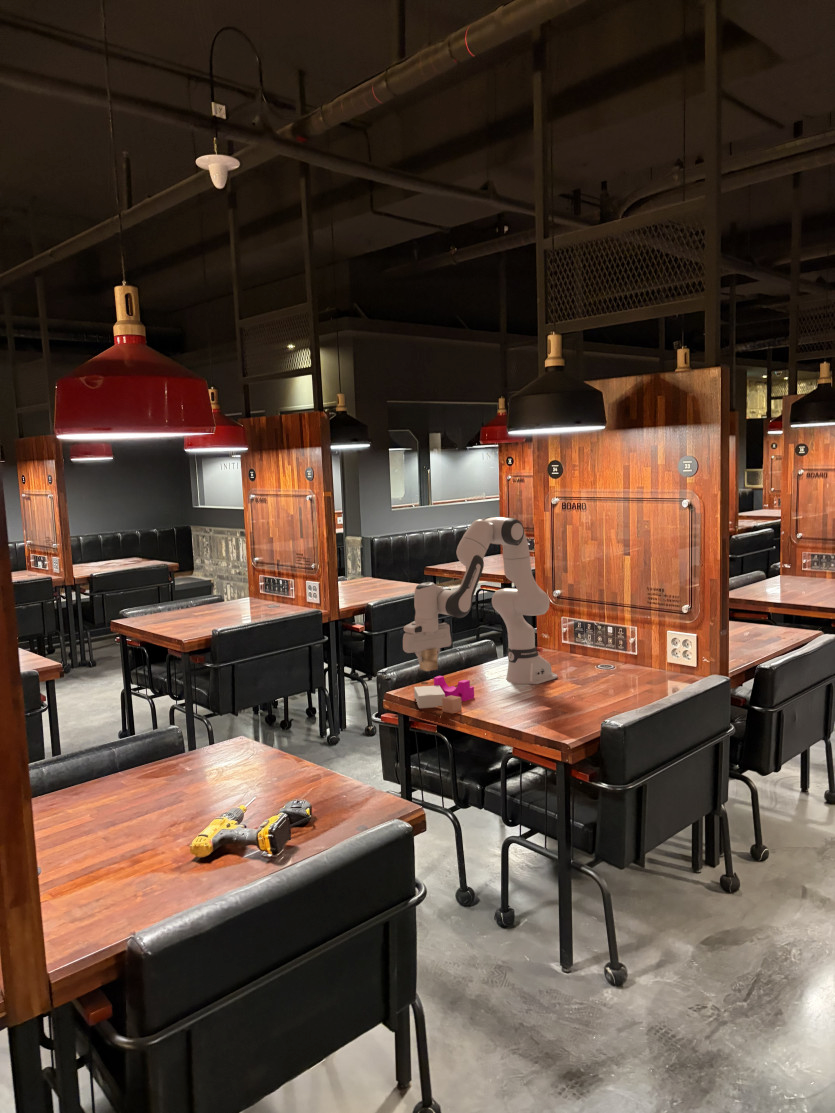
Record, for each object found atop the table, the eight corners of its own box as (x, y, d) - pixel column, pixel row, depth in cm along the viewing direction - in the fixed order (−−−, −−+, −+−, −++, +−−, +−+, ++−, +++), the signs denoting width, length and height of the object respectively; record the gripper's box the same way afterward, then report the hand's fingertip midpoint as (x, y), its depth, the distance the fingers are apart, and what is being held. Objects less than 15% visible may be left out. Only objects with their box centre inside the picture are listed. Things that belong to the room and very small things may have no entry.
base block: (439, 697, 314) (439, 685, 314) (445, 707, 301) (445, 694, 300) (414, 699, 313) (414, 687, 313) (419, 709, 299) (418, 696, 299)
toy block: (474, 698, 311) (473, 679, 310) (464, 701, 306) (463, 682, 306) (444, 692, 321) (443, 674, 320) (434, 696, 316) (433, 677, 315)
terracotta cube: (451, 708, 298) (450, 695, 297) (461, 710, 294) (461, 697, 294) (442, 711, 294) (442, 698, 294) (452, 713, 291) (452, 700, 290)
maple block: (430, 667, 309) (429, 646, 308) (437, 669, 305) (436, 648, 304) (419, 669, 306) (418, 648, 306) (426, 671, 302) (425, 650, 301)
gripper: (444, 621, 312) (446, 655, 313) (399, 627, 301) (401, 663, 303) (453, 622, 307) (455, 658, 308) (408, 629, 296) (410, 666, 297)
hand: (428, 661), depth 305 cm, fingers closed on maple block, 5 cm apart
